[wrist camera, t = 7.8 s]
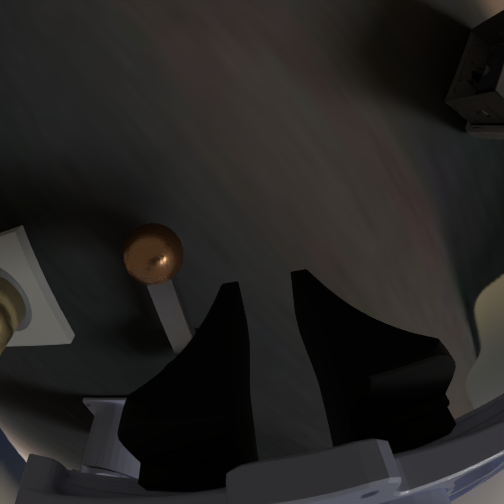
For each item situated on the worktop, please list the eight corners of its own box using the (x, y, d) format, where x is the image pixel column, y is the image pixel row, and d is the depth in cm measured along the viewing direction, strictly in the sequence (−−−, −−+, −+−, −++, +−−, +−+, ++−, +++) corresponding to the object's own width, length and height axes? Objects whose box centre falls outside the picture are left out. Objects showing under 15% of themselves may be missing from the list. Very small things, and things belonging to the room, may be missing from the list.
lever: (215, 335, 23) (214, 370, 20) (169, 341, 23) (163, 375, 20) (178, 208, 18) (168, 233, 15) (124, 220, 18) (105, 246, 15)
